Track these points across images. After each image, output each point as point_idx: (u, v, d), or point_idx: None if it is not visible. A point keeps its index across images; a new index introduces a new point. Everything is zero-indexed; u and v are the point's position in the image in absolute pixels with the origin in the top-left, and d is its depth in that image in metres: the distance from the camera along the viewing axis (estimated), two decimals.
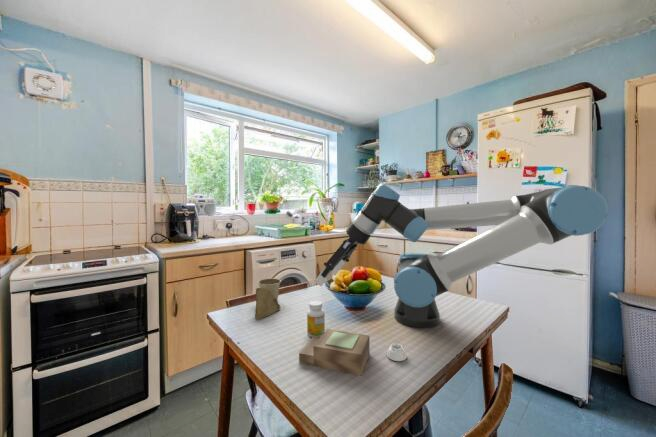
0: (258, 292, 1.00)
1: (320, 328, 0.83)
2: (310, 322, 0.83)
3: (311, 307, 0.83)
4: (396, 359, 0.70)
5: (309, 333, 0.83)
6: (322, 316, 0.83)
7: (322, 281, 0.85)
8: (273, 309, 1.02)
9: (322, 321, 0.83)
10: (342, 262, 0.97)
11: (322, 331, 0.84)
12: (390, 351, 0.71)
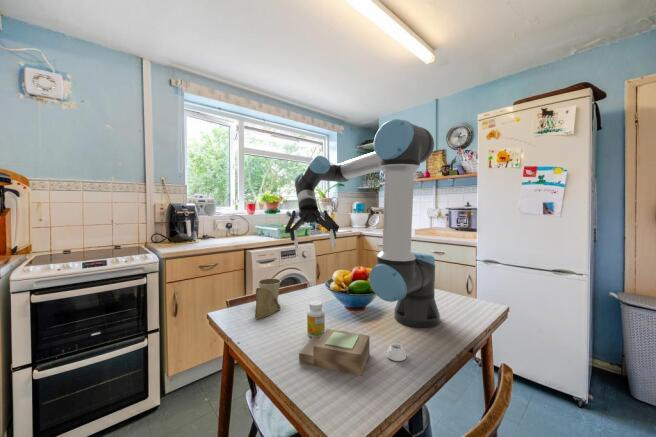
0: (258, 292, 1.00)
1: (320, 328, 0.83)
2: (310, 322, 0.83)
3: (311, 307, 0.83)
4: (396, 359, 0.70)
5: (309, 333, 0.83)
6: (322, 316, 0.83)
7: (295, 242, 0.95)
8: (273, 309, 1.02)
9: (322, 321, 0.83)
10: (330, 231, 1.02)
11: (322, 331, 0.84)
12: (390, 351, 0.71)
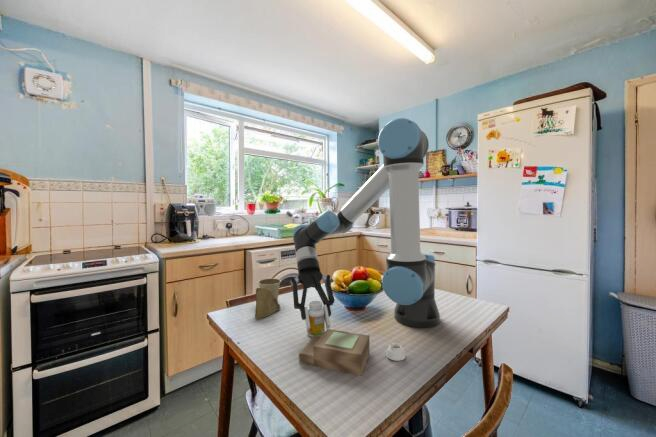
0: (258, 292, 1.00)
1: (320, 328, 0.83)
2: (310, 322, 0.83)
3: (311, 307, 0.83)
4: (395, 359, 0.70)
5: (309, 333, 0.83)
6: (322, 316, 0.83)
7: (306, 323, 0.81)
8: (273, 309, 1.02)
9: (322, 321, 0.83)
10: (324, 307, 0.85)
11: (322, 331, 0.84)
12: (389, 351, 0.71)
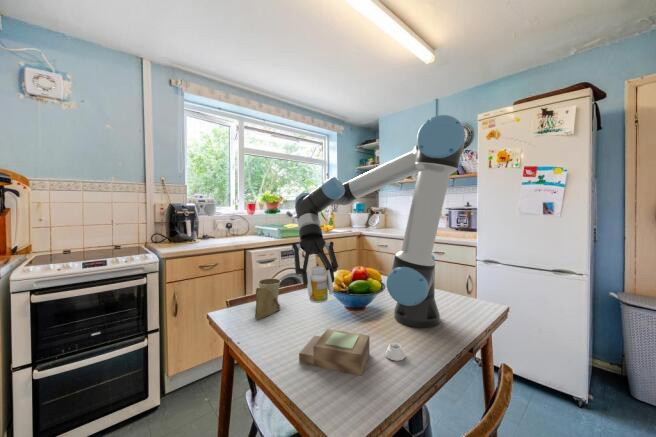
0: (258, 292, 1.00)
1: (323, 293, 0.79)
2: (312, 287, 0.79)
3: (313, 271, 0.79)
4: (394, 358, 0.70)
5: (311, 299, 0.79)
6: (325, 281, 0.79)
7: (308, 287, 0.77)
8: (273, 309, 1.02)
9: (324, 286, 0.79)
10: (327, 273, 0.81)
11: (325, 297, 0.79)
12: (388, 351, 0.71)
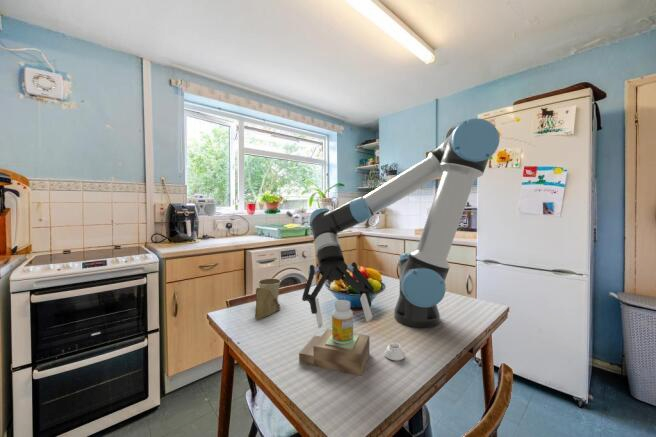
0: (258, 292, 1.00)
1: (348, 332, 0.68)
2: (336, 325, 0.68)
3: (337, 307, 0.69)
4: (394, 358, 0.70)
5: (335, 339, 0.69)
6: (351, 318, 0.69)
7: (318, 317, 0.67)
8: (273, 309, 1.02)
9: (350, 324, 0.69)
10: (362, 297, 0.73)
11: (351, 336, 0.69)
12: (388, 350, 0.72)
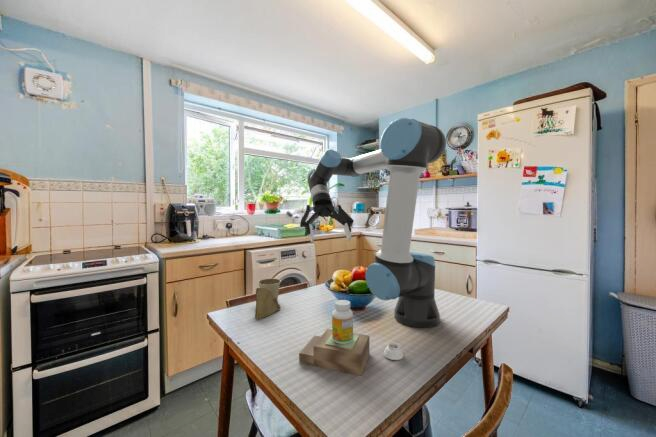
0: (258, 292, 1.00)
1: (348, 332, 0.68)
2: (336, 325, 0.68)
3: (337, 307, 0.69)
4: (393, 358, 0.70)
5: (335, 339, 0.69)
6: (351, 318, 0.69)
7: (311, 235, 0.96)
8: (273, 309, 1.02)
9: (350, 324, 0.69)
10: (345, 225, 1.02)
11: (351, 336, 0.69)
12: (387, 350, 0.72)
